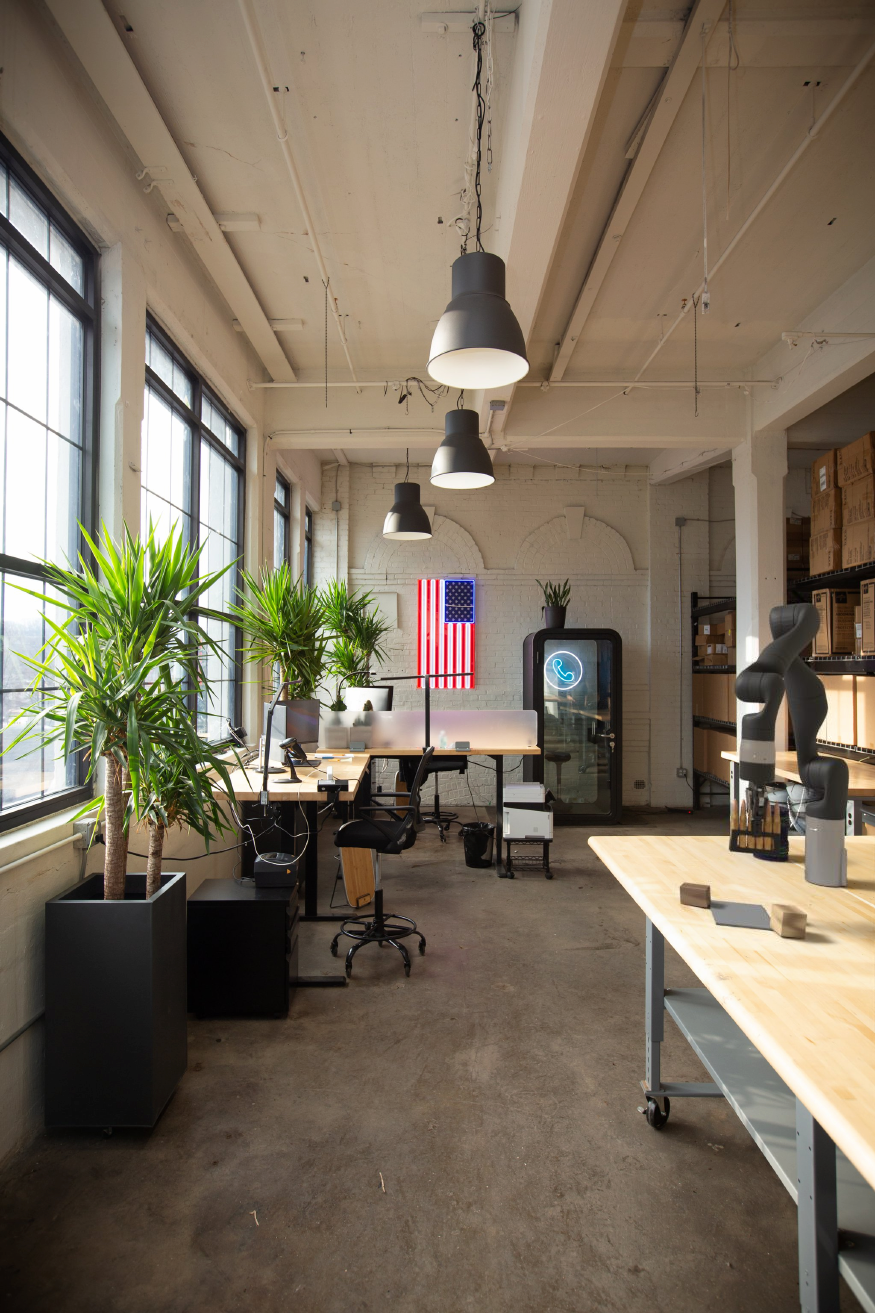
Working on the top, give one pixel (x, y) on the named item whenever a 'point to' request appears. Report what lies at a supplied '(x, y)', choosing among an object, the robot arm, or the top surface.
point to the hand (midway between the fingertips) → (754, 835)
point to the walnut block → (695, 894)
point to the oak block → (788, 921)
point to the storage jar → (783, 837)
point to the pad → (740, 915)
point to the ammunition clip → (744, 831)
